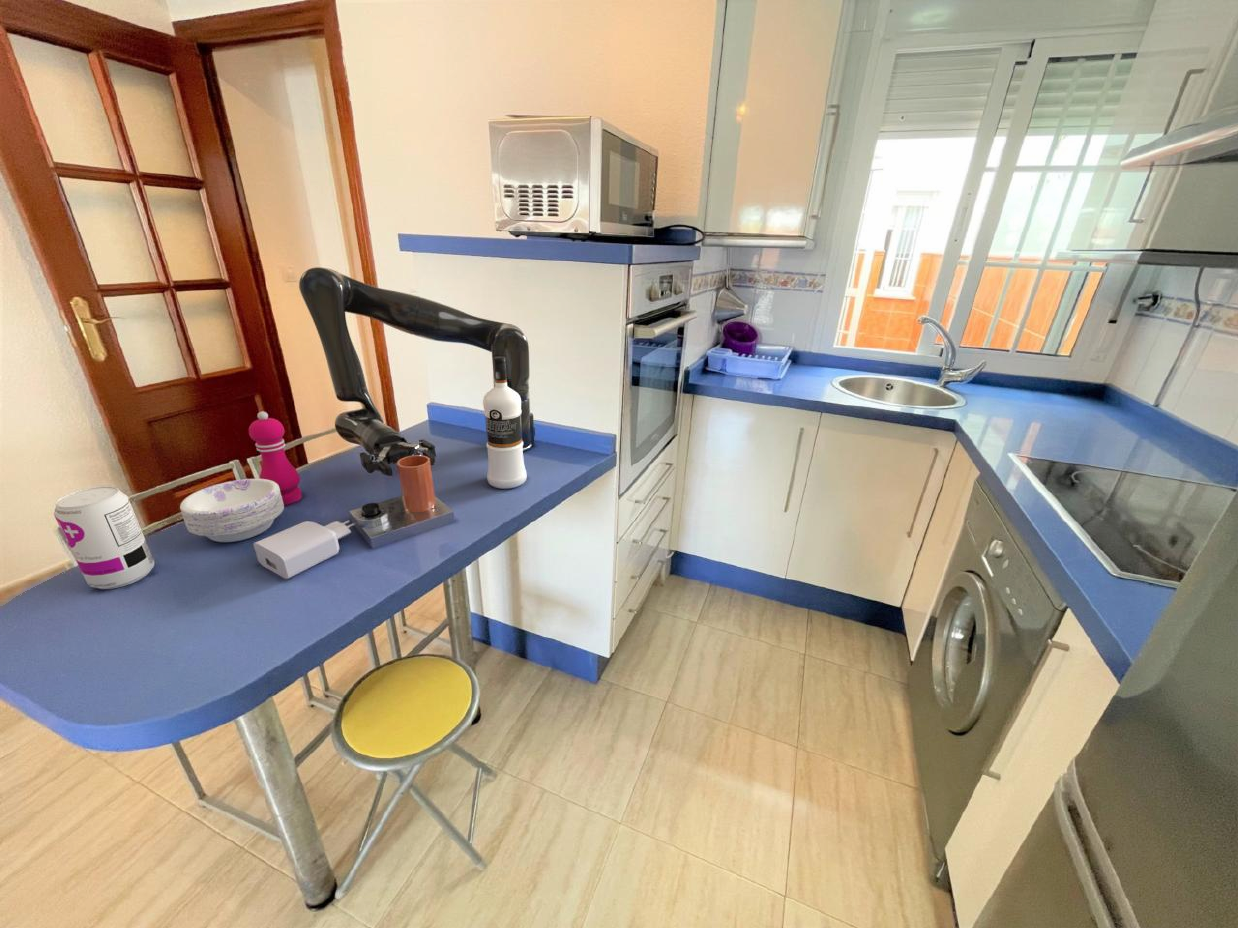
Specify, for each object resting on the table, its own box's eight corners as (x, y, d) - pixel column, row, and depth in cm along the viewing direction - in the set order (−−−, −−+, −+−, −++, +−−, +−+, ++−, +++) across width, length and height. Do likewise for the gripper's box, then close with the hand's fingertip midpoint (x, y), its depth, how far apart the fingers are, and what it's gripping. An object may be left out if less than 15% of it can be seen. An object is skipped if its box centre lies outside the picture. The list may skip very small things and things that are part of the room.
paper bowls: (258, 504, 107) (248, 470, 103) (305, 522, 101) (296, 487, 98) (174, 538, 94) (160, 500, 91) (222, 560, 88) (208, 521, 85)
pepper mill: (311, 493, 112) (290, 407, 104) (289, 508, 105) (265, 418, 97) (281, 490, 113) (258, 405, 104) (257, 506, 106) (230, 416, 98)
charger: (369, 540, 96) (289, 581, 84) (339, 526, 100) (258, 564, 88) (365, 518, 94) (282, 557, 82) (334, 505, 98) (251, 541, 86)
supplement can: (99, 598, 78) (59, 514, 72) (82, 579, 82) (42, 499, 76) (164, 572, 85) (132, 493, 79) (144, 556, 89) (112, 480, 83)
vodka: (534, 477, 123) (528, 355, 111) (513, 493, 115) (505, 363, 103) (501, 471, 126) (493, 351, 114) (479, 485, 118) (468, 358, 106)
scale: (428, 498, 112) (426, 482, 110) (454, 521, 103) (452, 504, 101) (348, 522, 101) (344, 504, 100) (370, 550, 93) (366, 531, 91)
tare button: (377, 509, 99) (375, 501, 99) (382, 514, 97) (381, 507, 97) (361, 513, 97) (359, 505, 97) (366, 519, 95) (364, 511, 95)
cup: (428, 495, 108) (422, 452, 104) (440, 506, 104) (434, 462, 99) (399, 504, 104) (392, 460, 100) (411, 515, 100) (403, 470, 96)
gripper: (346, 434, 107) (372, 458, 96) (412, 421, 116) (443, 441, 105) (352, 466, 110) (378, 492, 99) (417, 451, 119) (447, 473, 108)
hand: (411, 466), depth 102 cm, fingers open, 8 cm apart
